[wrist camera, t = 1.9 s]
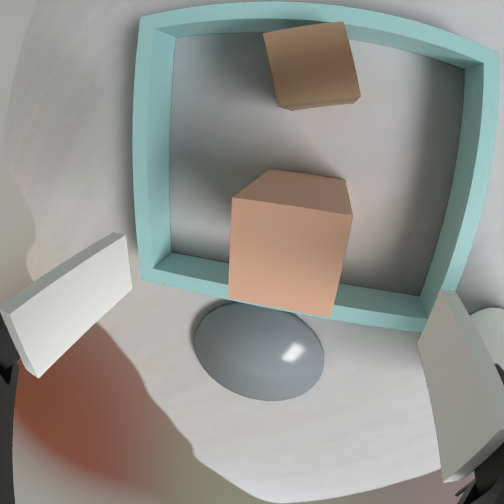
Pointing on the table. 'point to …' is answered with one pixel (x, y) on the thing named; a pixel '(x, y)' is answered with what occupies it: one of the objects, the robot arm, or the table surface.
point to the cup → (491, 332)
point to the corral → (357, 28)
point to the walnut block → (312, 66)
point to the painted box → (289, 241)
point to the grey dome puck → (259, 351)
